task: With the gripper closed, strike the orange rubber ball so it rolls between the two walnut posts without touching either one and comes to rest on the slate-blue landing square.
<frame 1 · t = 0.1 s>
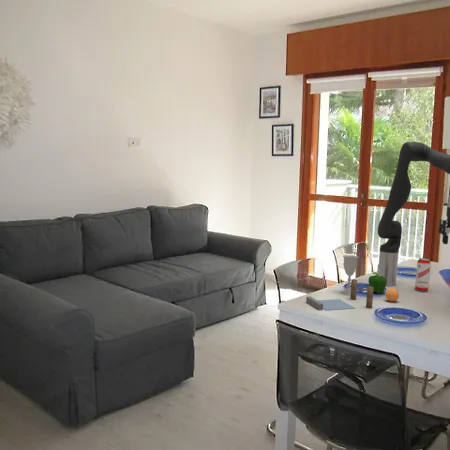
bell pepper: (376, 292, 243), on the table
post 1: (353, 299, 229), on the table
chalice: (348, 293, 239), on the table
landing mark: (332, 304, 219), on the table
ball: (392, 294, 227), on the table
post 2: (369, 307, 217), on the table
beer can: (421, 290, 249), on the table
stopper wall: (314, 305, 217), on the table
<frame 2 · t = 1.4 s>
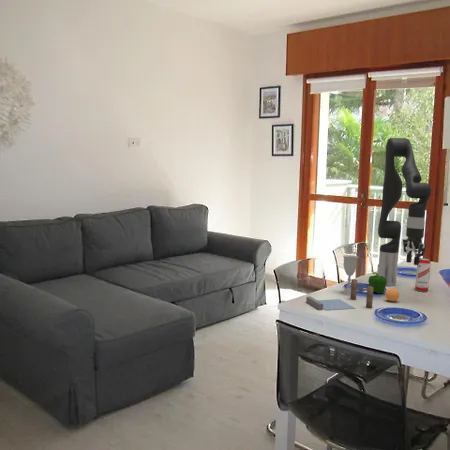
hand: (412, 263, 228), 17 cm above the table, tool pointing down, fingers open, 4 cm apart
nothing on the table moved.
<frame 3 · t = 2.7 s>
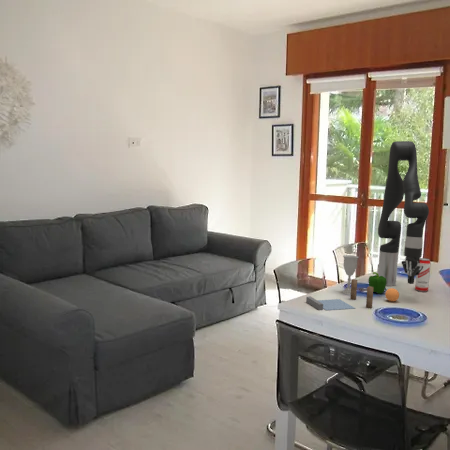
hand: (410, 283, 229), 8 cm above the table, tool pointing down, fingers closed
nothing on the table moved.
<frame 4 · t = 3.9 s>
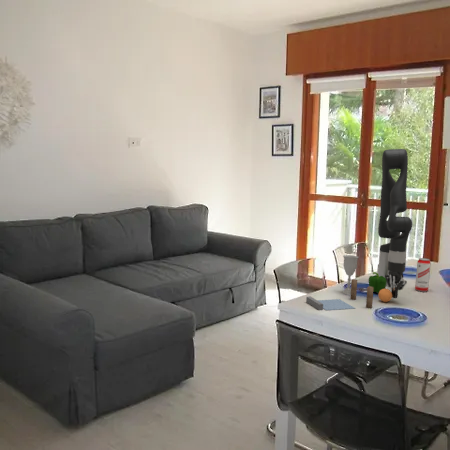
hand: (394, 297, 227), 2 cm above the table, tool pointing down, fingers closed
ball: (385, 295, 226), on the table
everything else where it was.
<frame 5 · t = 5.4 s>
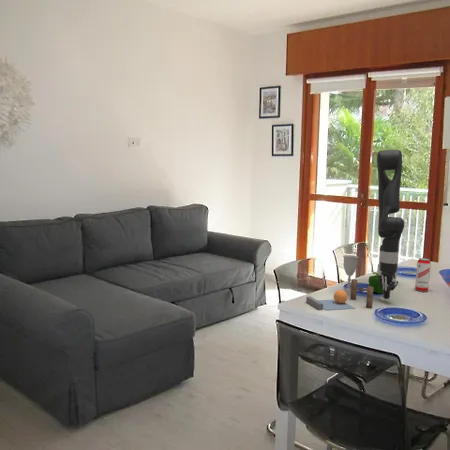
hand: (386, 298, 227), 1 cm above the table, tool pointing down, fingers closed
ball: (340, 296, 222), on the table
everything else where it was.
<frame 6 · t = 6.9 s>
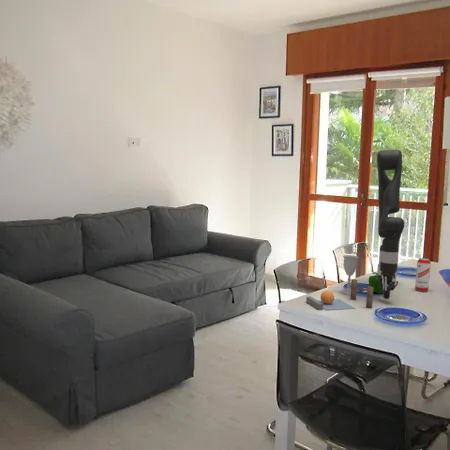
hand: (386, 298, 227), 1 cm above the table, tool pointing down, fingers closed
ball: (327, 297, 220), on the table
everything else where it was.
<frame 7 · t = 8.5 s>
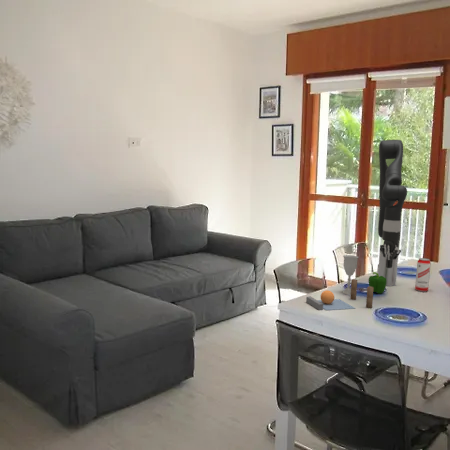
hand: (388, 267, 225), 16 cm above the table, tool pointing down, fingers closed
nothing on the table moved.
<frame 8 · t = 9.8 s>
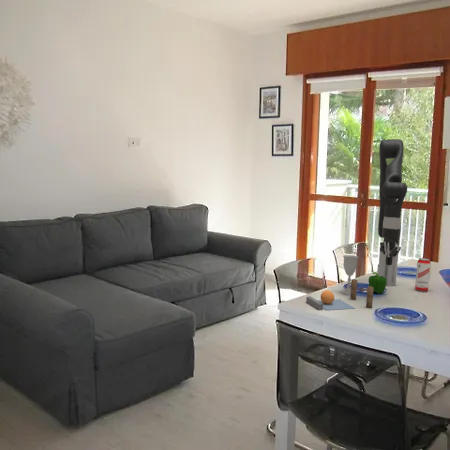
hand: (388, 265, 225), 17 cm above the table, tool pointing down, fingers closed
nothing on the table moved.
at the end: ball 2.7 cm from the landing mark (horizontally); ball never touched post 1; ball never touched post 2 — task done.
